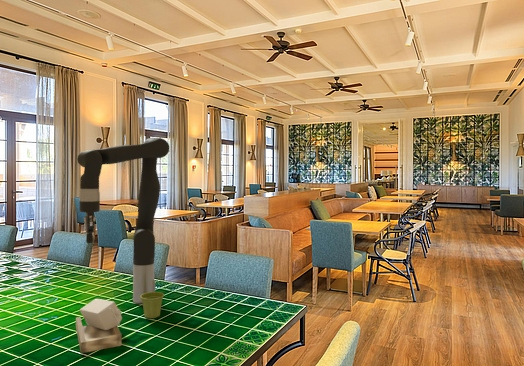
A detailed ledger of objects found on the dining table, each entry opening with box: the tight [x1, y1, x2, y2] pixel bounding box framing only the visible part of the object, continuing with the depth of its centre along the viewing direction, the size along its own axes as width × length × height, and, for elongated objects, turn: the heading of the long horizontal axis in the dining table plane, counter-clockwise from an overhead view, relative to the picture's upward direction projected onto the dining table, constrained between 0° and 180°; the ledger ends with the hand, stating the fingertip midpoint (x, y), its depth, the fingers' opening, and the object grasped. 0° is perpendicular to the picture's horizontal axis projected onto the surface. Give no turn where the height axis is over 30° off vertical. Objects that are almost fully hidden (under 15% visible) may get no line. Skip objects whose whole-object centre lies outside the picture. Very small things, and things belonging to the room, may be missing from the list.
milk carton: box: [79, 298, 123, 330], centre depth 144 cm, size 7×7×19 cm
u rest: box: [75, 316, 123, 354], centre depth 140 cm, size 13×24×4 cm, turn 29°
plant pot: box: [140, 291, 165, 319], centre depth 160 cm, size 9×9×9 cm
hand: (89, 242), depth 157 cm, fingers closed
